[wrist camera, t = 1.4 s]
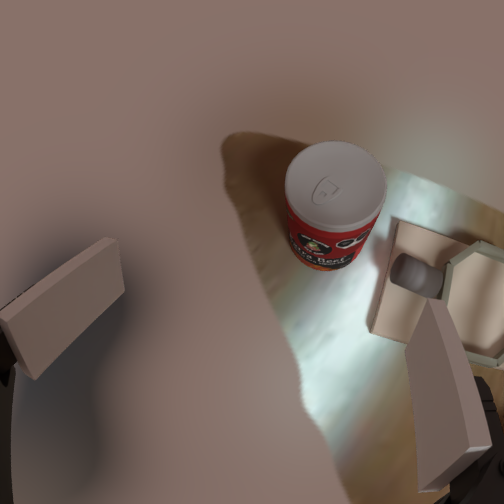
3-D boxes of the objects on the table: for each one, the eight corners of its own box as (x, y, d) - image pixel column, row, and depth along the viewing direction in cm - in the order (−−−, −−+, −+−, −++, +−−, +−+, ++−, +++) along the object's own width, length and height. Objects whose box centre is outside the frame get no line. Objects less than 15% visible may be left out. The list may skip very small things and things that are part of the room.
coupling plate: (548, 282, 25) (569, 271, 21) (535, 380, 22) (559, 379, 18) (397, 222, 31) (409, 201, 27) (369, 335, 28) (381, 331, 24)
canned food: (276, 254, 32) (265, 202, 22) (309, 193, 34) (311, 126, 24) (343, 287, 30) (366, 248, 20) (373, 221, 32) (399, 161, 22)
